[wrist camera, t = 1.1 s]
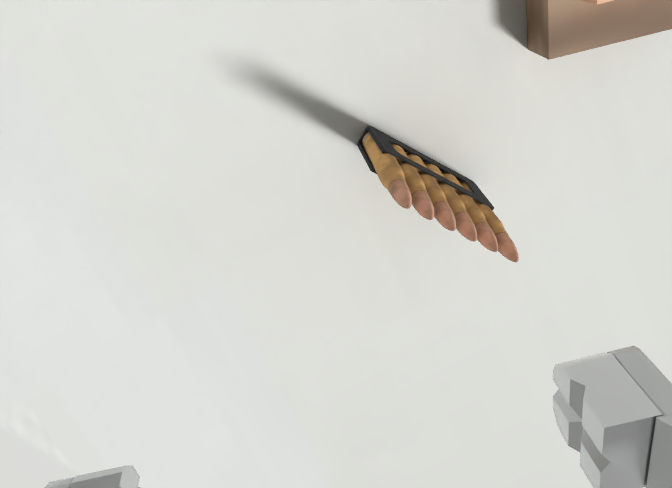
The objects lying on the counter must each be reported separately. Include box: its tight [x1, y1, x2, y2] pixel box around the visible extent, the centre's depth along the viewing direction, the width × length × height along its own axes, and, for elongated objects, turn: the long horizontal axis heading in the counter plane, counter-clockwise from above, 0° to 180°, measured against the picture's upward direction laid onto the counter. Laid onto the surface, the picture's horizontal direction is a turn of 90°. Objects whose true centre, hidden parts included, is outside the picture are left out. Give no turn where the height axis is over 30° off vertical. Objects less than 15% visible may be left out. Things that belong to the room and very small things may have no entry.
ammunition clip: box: [357, 126, 519, 262], centre depth 41 cm, size 11×2×12 cm, turn 60°
